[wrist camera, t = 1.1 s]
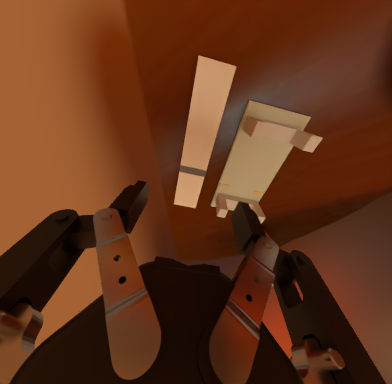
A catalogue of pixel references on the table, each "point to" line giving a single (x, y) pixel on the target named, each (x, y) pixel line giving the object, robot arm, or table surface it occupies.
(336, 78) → the table surface
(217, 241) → the table surface
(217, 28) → the table surface
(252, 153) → the cream footed plank
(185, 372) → the robot arm
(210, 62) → the beige bar
